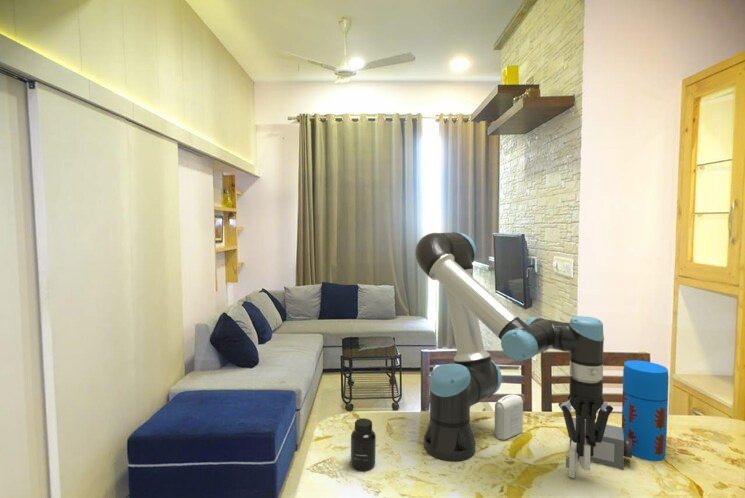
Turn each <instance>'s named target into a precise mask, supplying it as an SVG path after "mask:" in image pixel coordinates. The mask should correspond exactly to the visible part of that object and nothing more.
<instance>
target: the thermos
mask: <svg viewBox="0 0 745 498" xmlns="http://www.w3.org/2000/svg"><path fill="white" fill-rule="evenodd" d="M622 372H623V373H622V374H623V375H622V400H621V401H622V403H621V406H622V407H621V428H623V435H624V437H627V438H632V457H635V458H637V459H640V460H644V461H648V462H649V461H650V462H661V461H663V460H664V459H665V458H666V451H667V435H668V434H667V433H668V407H669V405H668V404H669V403H668V402H669V379H670V378H669V369H668V368H667V367H666V366H664V365H661V364H658V363H655V362H652V361H651V362H650V361H647V360H646V361H644V360H634V359H633V360H627V361H624V364H623V371H622Z"/></svg>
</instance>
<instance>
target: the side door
mask: <svg viewBox="0 0 745 498" xmlns="http://www.w3.org/2000/svg"><path fill="white" fill-rule="evenodd" d="M568 455H569V456H568ZM568 455H566V457H565V468H567V469H568V477H569V478H573V479H575V476H576V475H575V474H576V470H577V464H578V460H579V459H578V454H577V452H576V443H574V442H573V441H572V442H571V446H570V445H569V454H568Z"/></svg>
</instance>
